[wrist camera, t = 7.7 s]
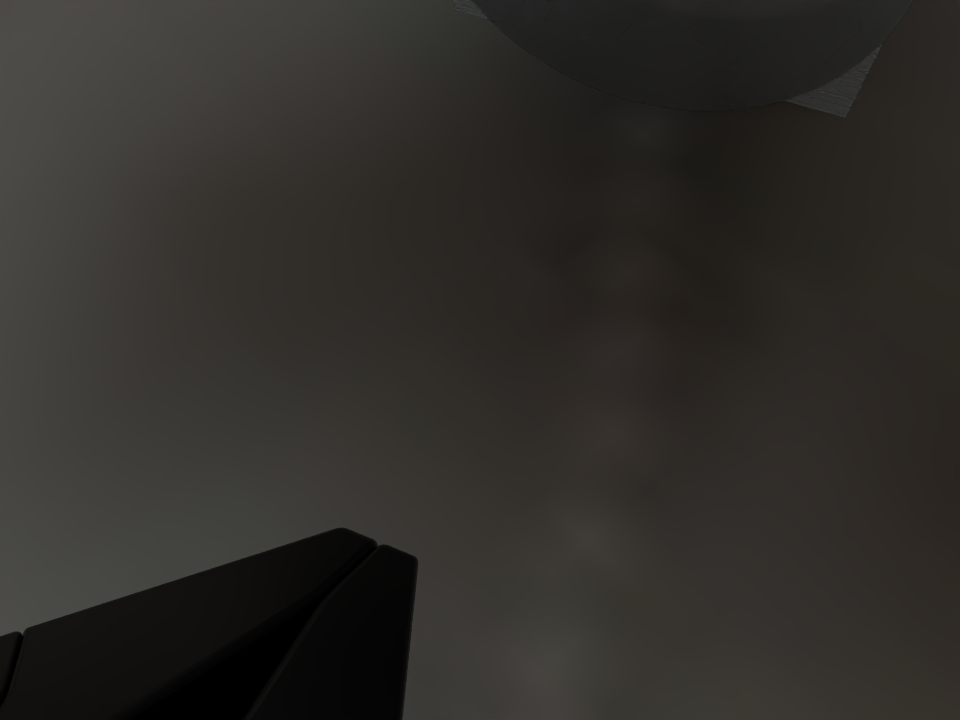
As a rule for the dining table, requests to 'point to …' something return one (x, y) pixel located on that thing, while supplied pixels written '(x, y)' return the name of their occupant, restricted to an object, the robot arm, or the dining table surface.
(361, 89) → the dining table surface
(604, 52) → the cube on metal disc
